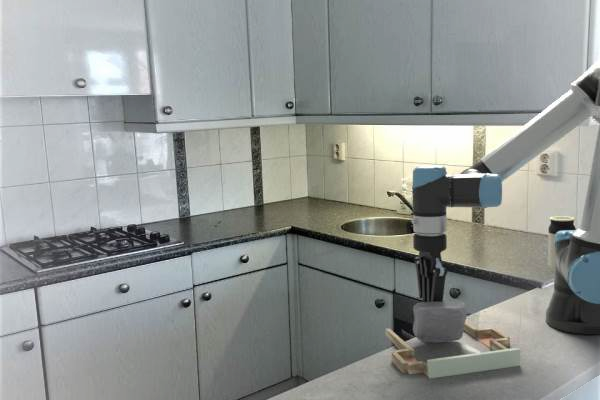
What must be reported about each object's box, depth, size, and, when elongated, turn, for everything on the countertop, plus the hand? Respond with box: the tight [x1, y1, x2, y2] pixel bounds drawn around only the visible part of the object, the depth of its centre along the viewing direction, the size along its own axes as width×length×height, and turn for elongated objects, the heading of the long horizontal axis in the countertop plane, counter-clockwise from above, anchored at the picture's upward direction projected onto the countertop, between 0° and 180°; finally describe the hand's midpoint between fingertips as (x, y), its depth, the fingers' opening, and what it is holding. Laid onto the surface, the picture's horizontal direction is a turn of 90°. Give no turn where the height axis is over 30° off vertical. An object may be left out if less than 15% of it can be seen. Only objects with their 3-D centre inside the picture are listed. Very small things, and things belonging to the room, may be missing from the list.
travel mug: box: [547, 215, 577, 267], centre depth 188 cm, size 8×8×18 cm
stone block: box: [412, 300, 468, 343], centre depth 132 cm, size 12×5×10 cm, turn 92°
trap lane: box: [385, 320, 521, 379], centre depth 129 cm, size 28×24×4 cm
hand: (430, 331), depth 137 cm, fingers closed
